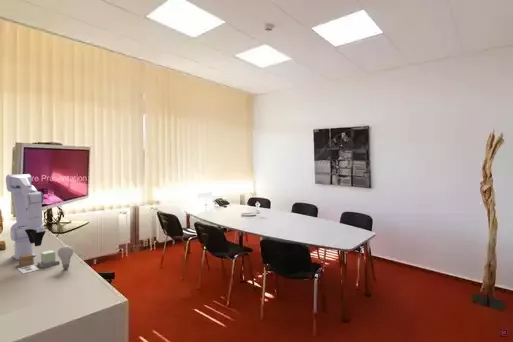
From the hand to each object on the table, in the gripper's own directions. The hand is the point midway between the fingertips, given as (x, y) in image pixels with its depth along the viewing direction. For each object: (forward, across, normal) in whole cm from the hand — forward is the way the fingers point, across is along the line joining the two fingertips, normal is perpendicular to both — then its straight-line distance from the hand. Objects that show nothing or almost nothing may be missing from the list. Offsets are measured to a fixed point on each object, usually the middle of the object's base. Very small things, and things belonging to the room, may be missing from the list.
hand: (35, 244), depth 138 cm
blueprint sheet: (+10, +5, -4) cm, 12 cm away
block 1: (+10, -4, -3) cm, 11 cm away
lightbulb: (+10, +19, +6) cm, 23 cm away
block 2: (+8, +5, +4) cm, 10 cm away
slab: (+10, +5, +4) cm, 12 cm away
